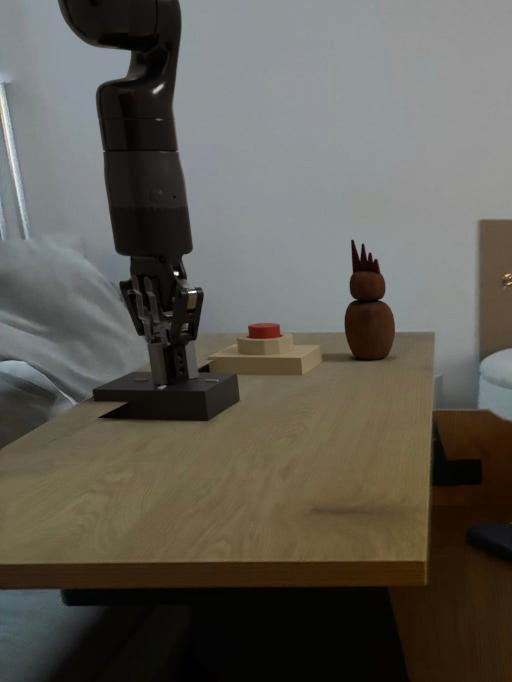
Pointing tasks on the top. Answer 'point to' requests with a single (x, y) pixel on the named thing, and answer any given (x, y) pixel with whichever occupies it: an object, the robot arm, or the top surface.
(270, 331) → the stop button
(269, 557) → the top surface
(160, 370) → the gray flat block
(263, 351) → the stop box
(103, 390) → the panel
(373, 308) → the wooden figurine
